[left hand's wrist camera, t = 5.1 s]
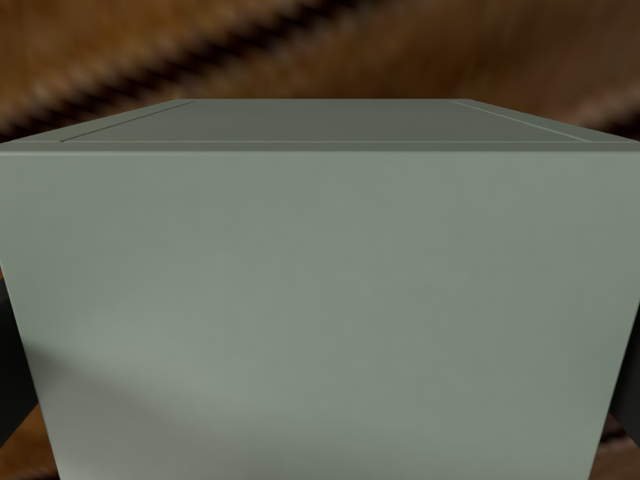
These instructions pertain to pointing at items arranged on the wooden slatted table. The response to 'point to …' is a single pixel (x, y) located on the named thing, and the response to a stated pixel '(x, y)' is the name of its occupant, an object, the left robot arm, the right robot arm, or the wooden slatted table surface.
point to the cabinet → (322, 289)
